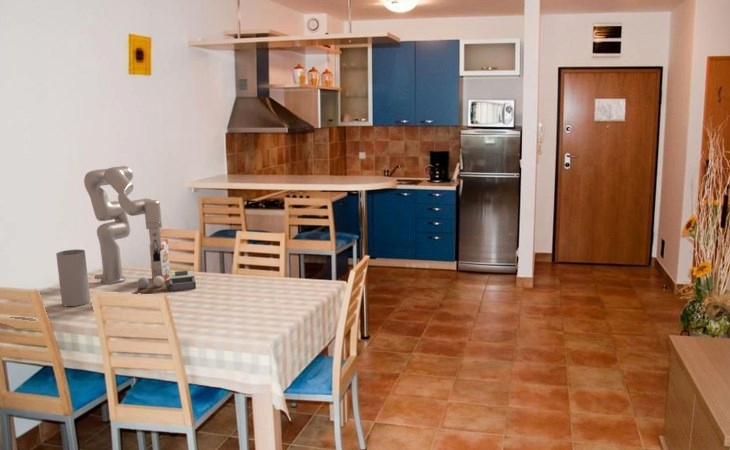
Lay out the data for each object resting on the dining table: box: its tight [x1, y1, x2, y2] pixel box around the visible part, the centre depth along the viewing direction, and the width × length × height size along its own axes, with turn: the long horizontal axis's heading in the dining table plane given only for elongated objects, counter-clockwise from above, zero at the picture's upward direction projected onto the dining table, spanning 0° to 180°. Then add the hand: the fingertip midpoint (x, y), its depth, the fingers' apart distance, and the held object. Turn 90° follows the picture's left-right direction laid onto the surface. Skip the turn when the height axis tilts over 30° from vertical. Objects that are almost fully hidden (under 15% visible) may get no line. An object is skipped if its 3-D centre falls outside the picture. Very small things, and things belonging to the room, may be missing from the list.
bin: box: [168, 276, 197, 292], centre depth 357 cm, size 12×25×4 cm, turn 17°
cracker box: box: [149, 238, 171, 282], centre depth 367 cm, size 14×6×21 cm, turn 179°
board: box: [136, 283, 168, 295], centre depth 347 cm, size 14×10×2 cm
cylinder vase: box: [55, 249, 91, 307], centre depth 326 cm, size 12×12×25 cm
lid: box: [168, 270, 195, 279], centre depth 360 cm, size 12×12×3 cm
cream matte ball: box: [152, 276, 166, 287], centre depth 347 cm, size 6×6×6 cm
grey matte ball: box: [137, 277, 150, 289], centre depth 345 cm, size 6×6×6 cm
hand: (156, 259), depth 345 cm, fingers open, 7 cm apart
